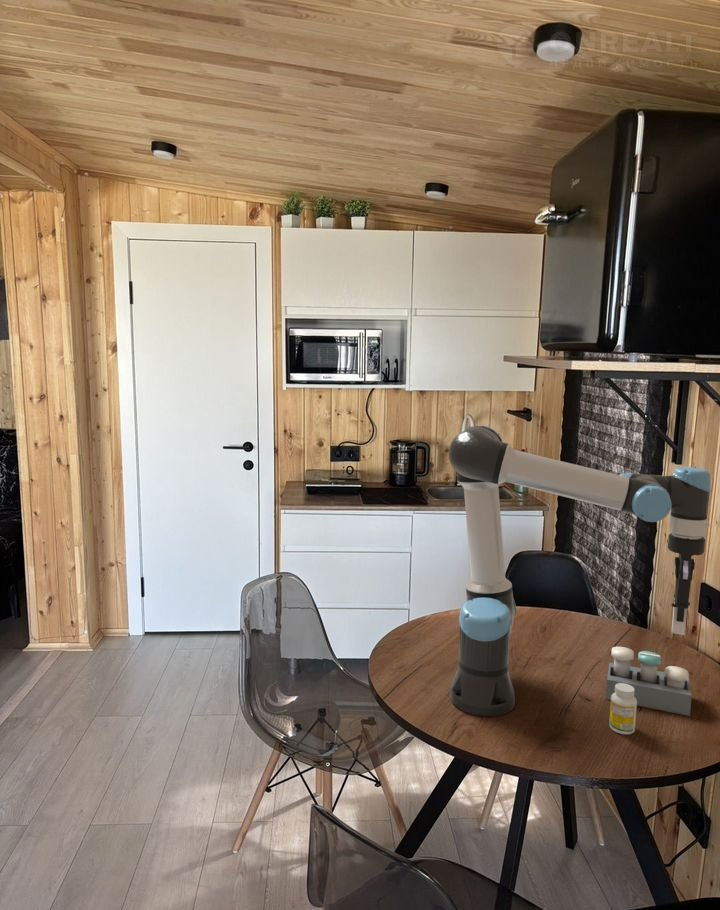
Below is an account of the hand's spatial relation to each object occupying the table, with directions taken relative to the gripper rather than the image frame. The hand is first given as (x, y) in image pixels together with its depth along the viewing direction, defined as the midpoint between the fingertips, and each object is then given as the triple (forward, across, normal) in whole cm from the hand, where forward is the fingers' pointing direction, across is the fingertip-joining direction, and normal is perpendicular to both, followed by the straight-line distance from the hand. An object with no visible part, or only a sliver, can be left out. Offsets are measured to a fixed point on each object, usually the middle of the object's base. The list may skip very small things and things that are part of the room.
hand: (678, 632), depth 149 cm
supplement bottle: (+18, -17, +10) cm, 27 cm away
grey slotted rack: (+18, 0, +6) cm, 18 cm away
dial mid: (+13, 0, +6) cm, 14 cm away
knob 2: (+16, 0, -1) cm, 16 cm away
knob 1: (+13, 0, +12) cm, 18 cm away
